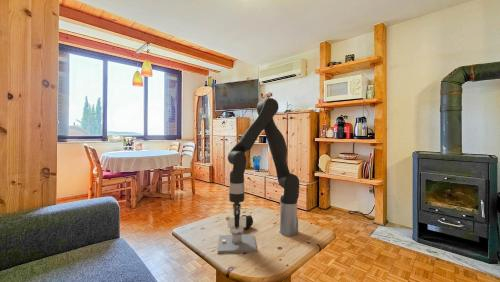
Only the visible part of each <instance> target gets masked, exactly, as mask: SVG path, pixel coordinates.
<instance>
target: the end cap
mask: <svg viewBox="0 0 500 282" xmlns="http://www.w3.org/2000/svg"><path fill="white" fill-rule="evenodd" d="M241 216H246V227H244V229H247V228H250V227H252V226H253V224H254V219H253V217H252V216H251V215H250V214H249V215H246V214H242V215H241Z"/></svg>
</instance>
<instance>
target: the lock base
mask: <svg viewBox="0 0 500 282" xmlns="http://www.w3.org/2000/svg"><path fill="white" fill-rule="evenodd" d="M257 250H258V249H257V245H256V241H255V235H254V233H250V234H249V233H248V234H244V233H242V234H239V235H234V234H219V237H218V245H217V254H219V255H220V254H235V253H236V254H239V253H257V252H258V251H257Z"/></svg>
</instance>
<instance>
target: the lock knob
mask: <svg viewBox="0 0 500 282" xmlns="http://www.w3.org/2000/svg"><path fill="white" fill-rule="evenodd" d="M246 216H247V215H246ZM246 216H242V215H240V220H239V227H235V220H234V216H225V221H227V229H229V234H230V235H232V234H234V235H239V234H242V235H243V234H244V232H245V228H244V227H246Z"/></svg>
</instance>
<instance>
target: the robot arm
mask: <svg viewBox="0 0 500 282" xmlns="http://www.w3.org/2000/svg"><path fill="white" fill-rule="evenodd" d="M278 111H279V103H278V101H277V100H276V99H275V98H272V97H268V98H265V99H262V100H260V101H258V103H257V105H256V113H257V115H258V116H257V117H256V119H254V121H253V122H252V123H251V124H250V125H249V127H248V128H247V129H246V130H245V131H244V132H243V134H242V136H241V137H240V139H239V141H238V142H237V143H236V144H235V145H234V146H233V147H232V149H230V151H229V152H228V155H227V161H228V163H229V164H231V165H232V170H230V172H229V184H228V185H229V186H228V189H229V190H228V193H229V195H228V200H229V202H230V203H232V210H233V211H232V212H233V213H232V214H233V217H234V220H235V227H239V220H240V216H241V210H242V205H241V204H242V203H243V202H244V201H245V171H246V166H247V156H246V152H248V151H250V150H251V149H252V148H253V146H254V144H255V143H256V141H257V139H258V137H260V135H261V133H262V132H263V131H264V133H265V137H266V140H267V144H268V148H269V151H270V154H271V158H272V160H273V163H274V166H275V171H276V176H277V182H278V185H279V186H280V187H281V188H282V189H283V195H281V196H280V199H279V200H280V207H279V208H280V209H279V213H280V214H279V216H280V217H279V218H280V220H279V222H280V223H279V226H280V227H279V232H280V234H281V235H283V236H285V237H286V236H287V237H294V236H297V235H299V216H298V200H299V196H300V195H299V194H300V179H299V177H298V175H296V174H294V173H291V172H290V169H289V166H288V161H287V160H288V147H287V143H286V138H285V137H284V135H283V134H282V132H281V131H280V129H279V128H278V127H277V124H275V120H274V117H275V116H276V114H277V113H278Z"/></svg>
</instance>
